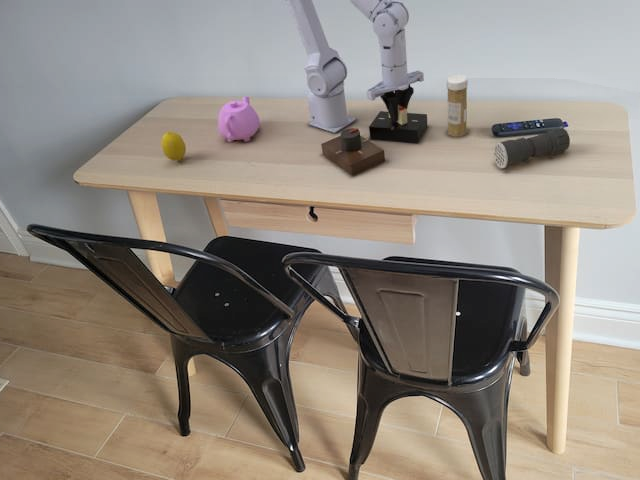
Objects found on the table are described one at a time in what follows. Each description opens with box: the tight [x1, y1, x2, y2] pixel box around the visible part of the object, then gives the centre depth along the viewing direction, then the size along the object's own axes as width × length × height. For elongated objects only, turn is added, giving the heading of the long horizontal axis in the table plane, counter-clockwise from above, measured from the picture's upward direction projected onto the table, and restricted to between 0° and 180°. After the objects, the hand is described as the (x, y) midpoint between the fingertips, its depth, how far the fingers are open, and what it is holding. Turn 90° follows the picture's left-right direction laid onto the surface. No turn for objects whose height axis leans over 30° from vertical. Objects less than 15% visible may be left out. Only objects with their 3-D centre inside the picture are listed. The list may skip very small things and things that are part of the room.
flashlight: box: [493, 127, 571, 169], centre depth 122 cm, size 15×5×5 cm, turn 105°
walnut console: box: [320, 134, 386, 177], centre depth 132 cm, size 13×9×3 cm
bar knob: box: [389, 105, 408, 125], centre depth 136 cm, size 6×2×4 cm, turn 30°
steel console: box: [368, 110, 429, 145], centre depth 138 cm, size 12×10×4 cm
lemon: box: [160, 131, 187, 162], centre depth 141 cm, size 6×6×8 cm
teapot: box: [217, 96, 261, 143], centre depth 147 cm, size 10×15×9 cm
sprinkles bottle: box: [446, 74, 469, 138], centre depth 132 cm, size 5×5×14 cm
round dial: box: [339, 127, 361, 151], centre depth 130 cm, size 4×4×4 cm
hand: (397, 118), depth 137 cm, fingers closed on bar knob, 2 cm apart
